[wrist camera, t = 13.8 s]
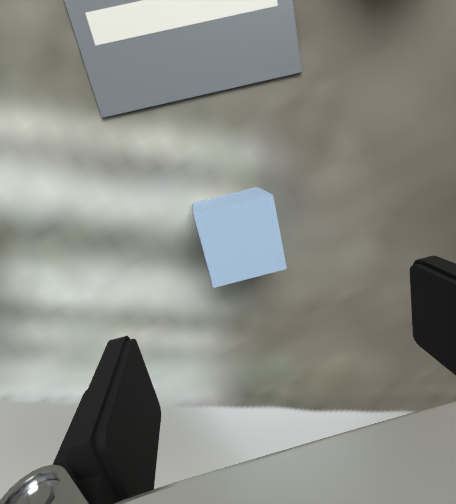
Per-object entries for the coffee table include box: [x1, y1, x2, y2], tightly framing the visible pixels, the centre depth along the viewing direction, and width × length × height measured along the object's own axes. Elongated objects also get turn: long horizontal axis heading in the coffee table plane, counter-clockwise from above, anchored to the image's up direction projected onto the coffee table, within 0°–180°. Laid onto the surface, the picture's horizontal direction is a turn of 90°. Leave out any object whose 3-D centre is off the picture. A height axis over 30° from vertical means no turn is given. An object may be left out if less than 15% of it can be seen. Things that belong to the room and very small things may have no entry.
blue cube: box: [193, 187, 287, 288], centre depth 23 cm, size 5×5×5 cm
